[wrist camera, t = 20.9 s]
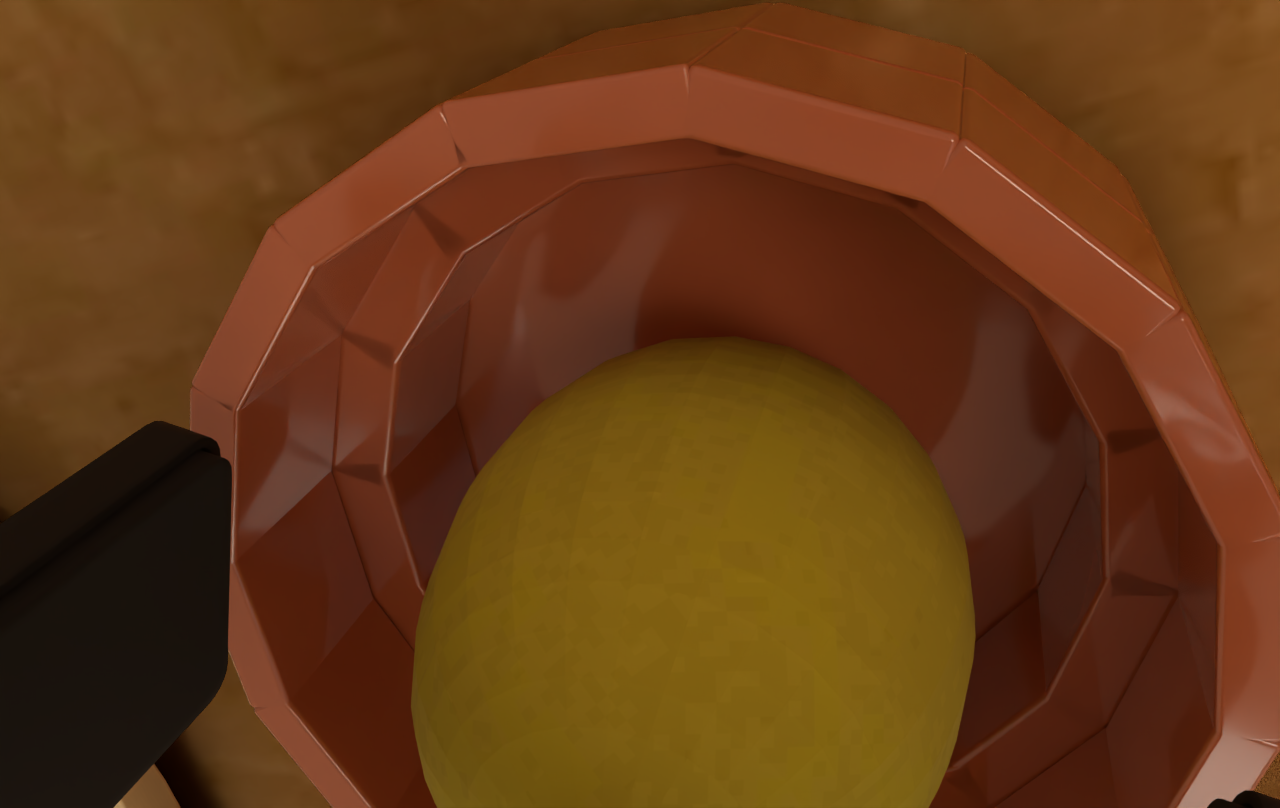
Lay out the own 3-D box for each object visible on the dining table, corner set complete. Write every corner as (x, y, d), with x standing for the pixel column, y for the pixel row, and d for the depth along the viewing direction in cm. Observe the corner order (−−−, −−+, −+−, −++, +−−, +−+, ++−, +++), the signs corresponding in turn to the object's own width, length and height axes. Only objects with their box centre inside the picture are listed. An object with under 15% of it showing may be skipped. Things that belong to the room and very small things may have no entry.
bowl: (1370, 142, 12) (1583, 297, 8) (1011, 830, 18) (1022, 1147, 13) (433, -93, 14) (188, -68, 10) (364, 604, 19) (186, 821, 15)
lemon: (1006, 592, 15) (1029, 1202, 8) (632, 622, 17) (400, 1137, 10) (935, 205, 13) (887, 583, 6) (522, 288, 15) (142, 646, 8)
